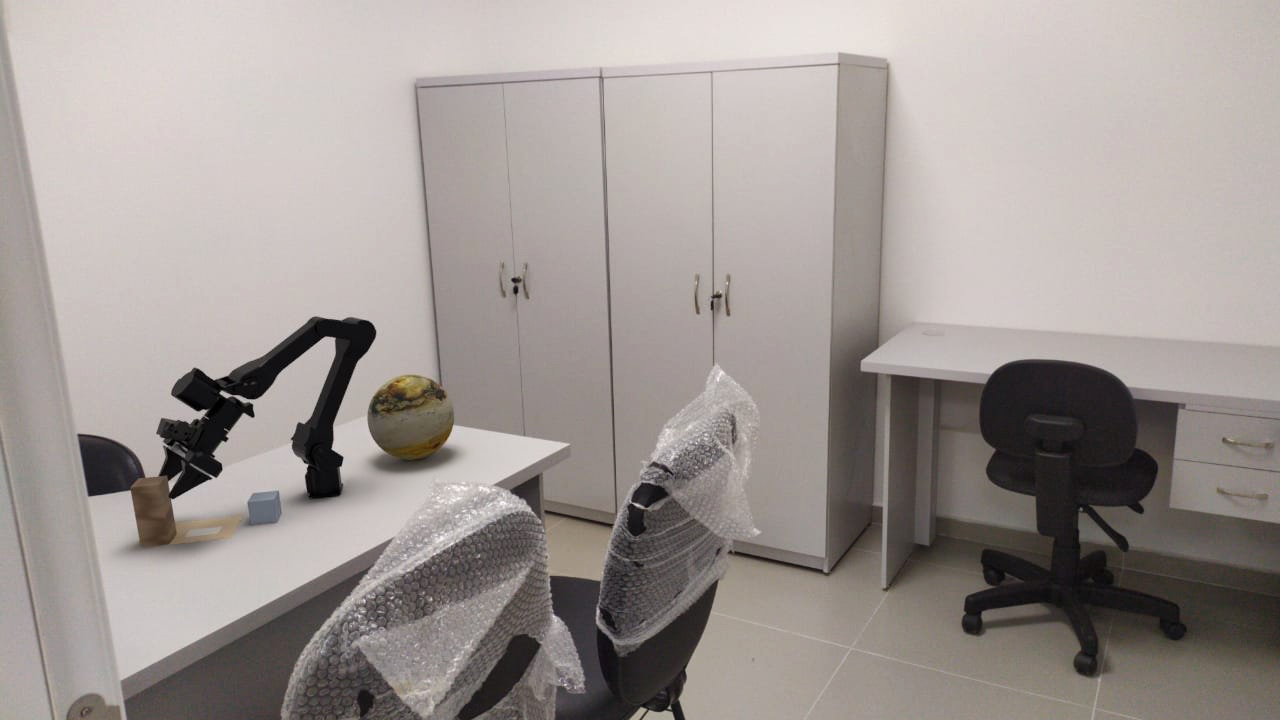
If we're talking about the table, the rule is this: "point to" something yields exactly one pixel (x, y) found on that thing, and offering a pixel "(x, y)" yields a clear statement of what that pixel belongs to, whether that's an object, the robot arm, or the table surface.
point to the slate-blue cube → (264, 507)
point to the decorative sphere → (410, 417)
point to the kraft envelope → (205, 530)
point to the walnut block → (153, 511)
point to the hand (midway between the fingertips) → (163, 491)
